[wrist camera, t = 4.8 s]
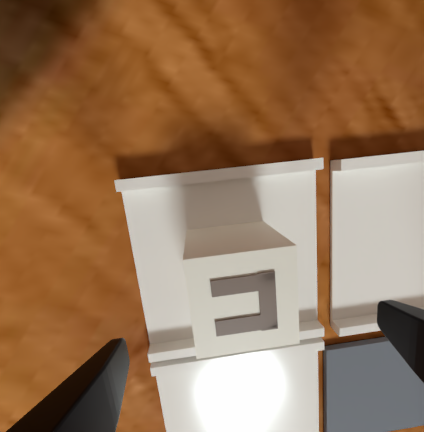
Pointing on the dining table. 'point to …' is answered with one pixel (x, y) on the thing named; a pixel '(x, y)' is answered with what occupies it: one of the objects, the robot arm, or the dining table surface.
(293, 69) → the dining table surface
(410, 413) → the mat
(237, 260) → the letter cube
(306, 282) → the tray
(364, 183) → the tray
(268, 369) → the tray
